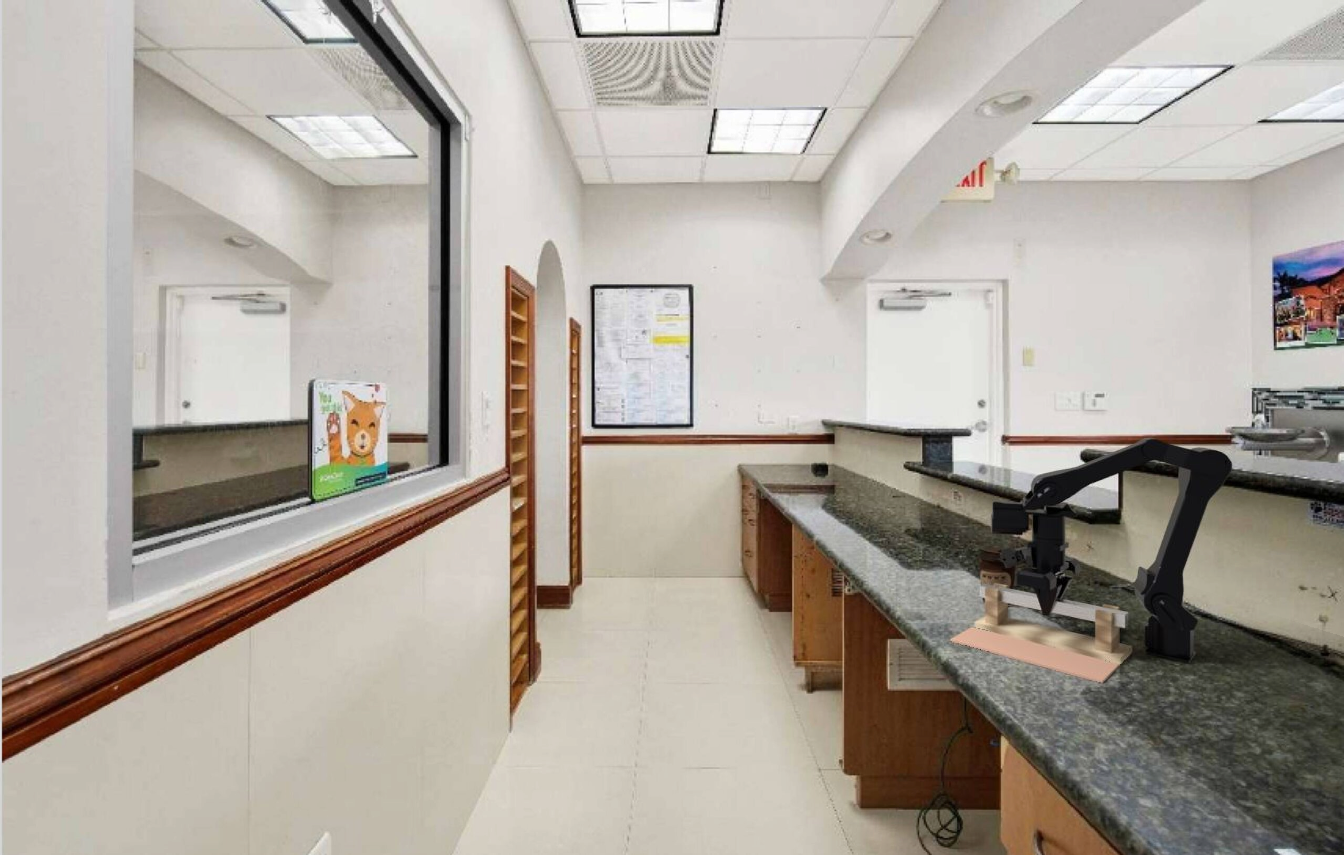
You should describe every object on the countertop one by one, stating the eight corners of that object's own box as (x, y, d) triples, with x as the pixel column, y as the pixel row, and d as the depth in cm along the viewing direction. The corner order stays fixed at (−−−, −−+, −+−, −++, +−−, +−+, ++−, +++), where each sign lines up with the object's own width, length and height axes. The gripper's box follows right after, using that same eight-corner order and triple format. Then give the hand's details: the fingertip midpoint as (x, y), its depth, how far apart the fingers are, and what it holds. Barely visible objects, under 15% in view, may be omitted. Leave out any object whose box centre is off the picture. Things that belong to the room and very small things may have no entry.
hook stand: (1132, 652, 117) (1132, 607, 117) (1120, 664, 112) (1120, 617, 111) (989, 618, 137) (989, 580, 136) (974, 627, 131) (973, 587, 131)
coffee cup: (1014, 611, 141) (1014, 555, 140) (974, 605, 146) (974, 550, 145) (1020, 601, 148) (1020, 547, 147) (982, 595, 153) (982, 543, 152)
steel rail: (1128, 624, 115) (1128, 612, 115) (1124, 628, 113) (1125, 615, 113) (984, 594, 135) (984, 583, 134) (979, 597, 133) (979, 586, 133)
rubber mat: (1119, 666, 111) (1119, 664, 111) (1102, 683, 104) (1102, 681, 104) (972, 628, 131) (971, 626, 131) (950, 641, 124) (950, 639, 124)
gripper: (1022, 525, 136) (1023, 595, 136) (987, 538, 123) (987, 615, 124) (1081, 532, 127) (1081, 606, 128) (1049, 547, 115) (1049, 629, 115)
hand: (1048, 613), depth 124 cm, fingers closed on steel rail, 2 cm apart
